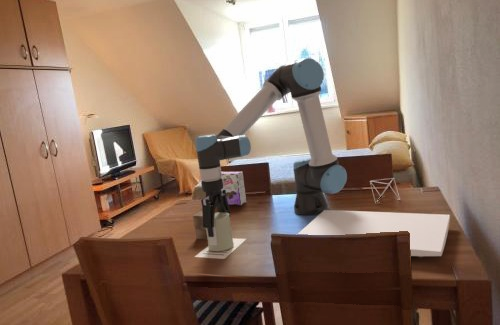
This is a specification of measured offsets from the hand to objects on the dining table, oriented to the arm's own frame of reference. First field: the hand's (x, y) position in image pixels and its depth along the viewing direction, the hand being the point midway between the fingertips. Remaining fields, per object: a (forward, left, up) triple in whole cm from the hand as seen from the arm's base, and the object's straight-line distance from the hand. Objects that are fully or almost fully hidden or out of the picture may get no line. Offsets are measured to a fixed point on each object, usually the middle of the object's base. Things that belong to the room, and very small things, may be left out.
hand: (220, 239), depth 141 cm
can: (0, 0, -3) cm, 3 cm away
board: (-51, -14, -4) cm, 53 cm away
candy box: (+24, -57, -4) cm, 62 cm away
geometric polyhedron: (-51, -61, -4) cm, 80 cm away
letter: (0, 0, -3) cm, 3 cm away
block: (+12, -10, -3) cm, 16 cm away
